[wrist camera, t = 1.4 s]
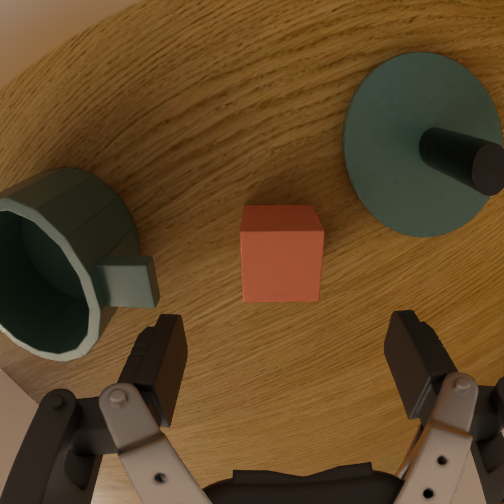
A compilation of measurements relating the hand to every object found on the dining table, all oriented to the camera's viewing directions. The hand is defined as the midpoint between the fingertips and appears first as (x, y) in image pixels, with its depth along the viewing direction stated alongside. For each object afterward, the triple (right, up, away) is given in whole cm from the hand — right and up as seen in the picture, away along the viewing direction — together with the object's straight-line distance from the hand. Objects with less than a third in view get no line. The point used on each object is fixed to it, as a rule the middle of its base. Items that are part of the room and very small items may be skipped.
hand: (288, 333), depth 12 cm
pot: (-14, +4, +8) cm, 16 cm away
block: (0, +4, +8) cm, 9 cm away
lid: (+9, +9, +4) cm, 14 cm away
